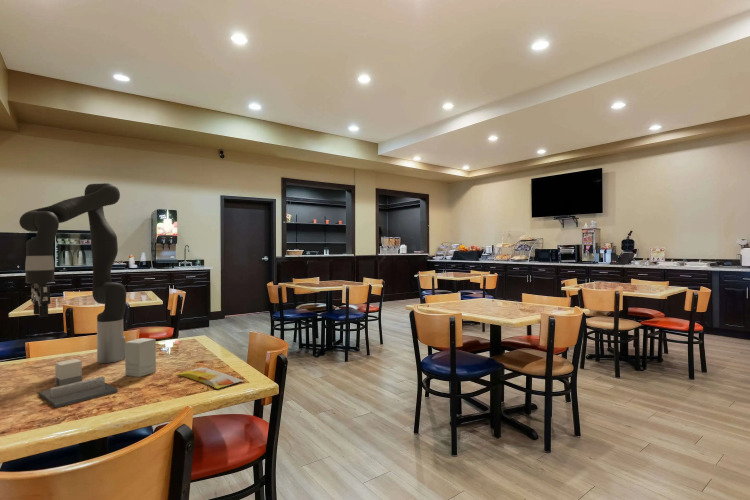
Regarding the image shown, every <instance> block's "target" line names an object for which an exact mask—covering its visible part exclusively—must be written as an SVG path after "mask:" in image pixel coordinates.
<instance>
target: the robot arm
mask: <svg viewBox="0 0 750 500" xmlns="http://www.w3.org/2000/svg"><path fill="white" fill-rule="evenodd" d="M120 198H121V193H120V190H119V188H118V187H117V186H116V185H115V184H112V183H108V182H107V183H105V182H102V183H89V184H88V185H86V187H85V189H84V194H83V195H81V196H74V197H72V198H71V197H70V198H67V199H64V200H61V201H58V202H56V203H54V204H51V205H48V206H45V207H40V208H36V209H32V210H28V211H27V212H24V213H23V214H22V215H21V216H20V218H19V220H18V221H19V225H20V227H21V229H22V230H25V231H27V232H30V233H31V232H33V233H36V235H35V237H34V238H30V239H28V240H27V241H26V243H25V249H26V250H25V253H26V256H25V257H26V258H25V283H26V284H31V286H30V288H31V291H30V292H31V295H30V296H31V297H30V298H31V299H30V301H31V303H32V305H33V314H34V315H35V316H38V315H39V318H47V317H49V305H50V304H51V286H50V285H47V284H49V283H54V282H55V260H54V242H55V240H56V238H57V237H56V236H57V234H58V230H59V225H60V224H63V223H66V222H68V221H70V220H73V219H75V218H77V217H79V216H81V215H84V214H86V213H87V216H88V222H89V231H90V232H89V233H90V250H91V256H92V289H91V290H92V291H91V292H92V297H93V300H94V301H95V302H96V303H97V304H100V305H104V309H103V311H102V312H100V313H98V314H97V316H96V354H97V355H96V361H97V363H99V364H109V363H115V362H119V361H122V360H125V342H126V336H124V315H125V313H126V306H127V304H126V303H127V290H126V287H125V286H124V284H122V283H121V282H120V283H119V282H112V273H111V272H112V267H113V265H114V262H115V261H116V258H117V255H118V251H119V247H118V246H119V244H118V236H117V234H116V231H114V229H113V228H112V226H111V225H110V223H109V222H108V221H107V219H106V216H105V212H104V207H108V206H112V205H115V204H117V203H118V202H119V200H120Z"/></svg>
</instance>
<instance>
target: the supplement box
mask: <svg viewBox="0 0 750 500" xmlns="http://www.w3.org/2000/svg"><path fill="white" fill-rule="evenodd" d="M156 341H157V339H156V338H148V337H147V338H145V337H141V338H136V339H131V340H129V341H125V359H124V362H125V363H124V364H125V365H124V366H125V370H124V371H125V373H124V374H125V376H129V377H136V378H137V377H139V378H140V377H143V376H144V377H145V376H146V375H150V374H153V373H156V372H157V361H156V359H157V357H156V356H157V350H156V344H157V343H156Z"/></svg>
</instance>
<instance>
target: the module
mask: <svg viewBox="0 0 750 500" xmlns="http://www.w3.org/2000/svg"><path fill="white" fill-rule="evenodd" d="M54 366H55V376H54V378H55V381H54V382H55V383H54V384H55V387H58V386H62V385H67V384H71V383H76V382H80V381H83V377H82V375H83V372H82V371H83V368H82V367H83V361H82V360H80V359H78V358H74V359H67V360H62V361H57V362H55V365H54Z"/></svg>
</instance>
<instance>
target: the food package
mask: <svg viewBox="0 0 750 500" xmlns="http://www.w3.org/2000/svg"><path fill="white" fill-rule="evenodd" d="M177 375H178V376H180V377H184V378H187V379H191V380H193V381H196V382H199V383H202V384H204V385H206V386H209V385H210V387H211V386H212V387H211V388H213V387H214V389H215V390H216V389H217V390H218V389H219V390H220V389H221V388H225V387H228V386H231V385H234V384H237V383H240V382H243V381H244V380H243V379H241V378H238V377H235V376H232V375H229V374H227V373H223V372H220V371H217V370H213V369H211V368H207V367H198V368H194V369H191V370H187V371H186V370H185V371H181V372H178V373H177Z"/></svg>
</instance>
